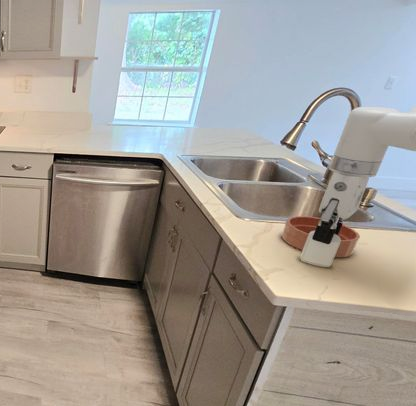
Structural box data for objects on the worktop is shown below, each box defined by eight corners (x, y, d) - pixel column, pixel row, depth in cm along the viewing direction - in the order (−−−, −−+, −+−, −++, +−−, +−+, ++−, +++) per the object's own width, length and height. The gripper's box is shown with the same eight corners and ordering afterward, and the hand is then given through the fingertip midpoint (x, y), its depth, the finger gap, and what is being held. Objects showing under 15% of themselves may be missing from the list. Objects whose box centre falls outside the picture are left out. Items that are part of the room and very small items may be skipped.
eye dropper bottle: (323, 270, 86) (342, 225, 81) (296, 259, 91) (312, 216, 86) (333, 265, 88) (352, 221, 83) (306, 255, 93) (322, 212, 88)
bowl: (359, 247, 95) (366, 230, 93) (341, 264, 88) (349, 247, 86) (292, 227, 106) (298, 211, 104) (272, 241, 99) (278, 225, 97)
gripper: (366, 177, 72) (333, 256, 80) (388, 162, 81) (356, 234, 88) (318, 168, 78) (291, 243, 85) (343, 155, 86) (316, 223, 94)
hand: (324, 238), depth 87 cm, fingers closed on eye dropper bottle, 4 cm apart
